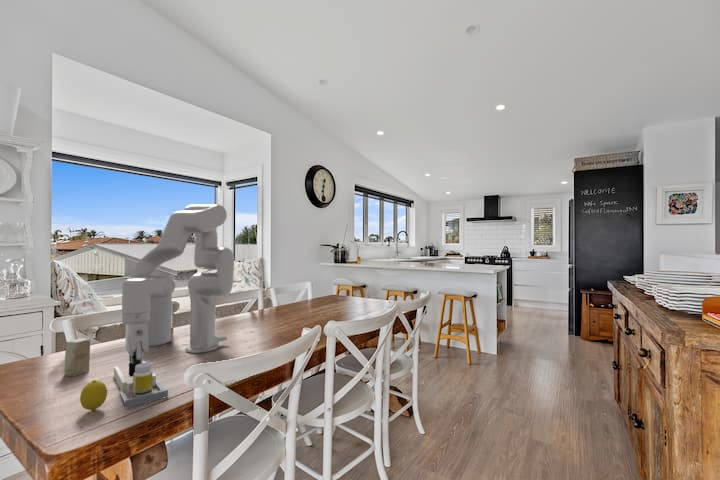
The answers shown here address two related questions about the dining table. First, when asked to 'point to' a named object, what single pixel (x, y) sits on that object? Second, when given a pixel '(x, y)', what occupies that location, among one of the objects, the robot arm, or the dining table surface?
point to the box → (77, 356)
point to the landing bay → (144, 396)
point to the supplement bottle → (142, 379)
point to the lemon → (93, 395)
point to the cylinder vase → (159, 321)
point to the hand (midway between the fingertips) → (135, 374)
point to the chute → (122, 381)
